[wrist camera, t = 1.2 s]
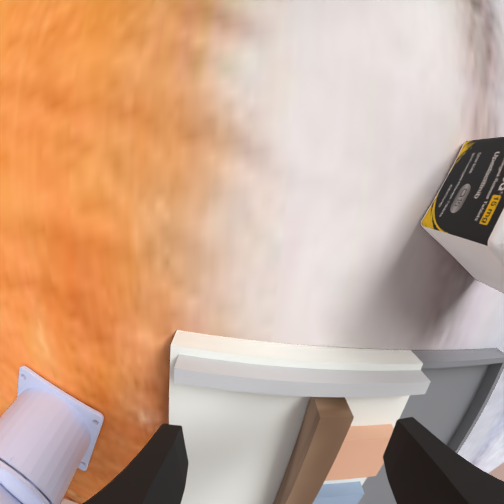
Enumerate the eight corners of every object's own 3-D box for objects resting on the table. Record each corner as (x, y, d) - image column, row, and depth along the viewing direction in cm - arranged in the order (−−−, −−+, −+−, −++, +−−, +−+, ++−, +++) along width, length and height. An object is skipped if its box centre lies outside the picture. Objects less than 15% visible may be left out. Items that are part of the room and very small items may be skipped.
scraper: (262, 528, 21) (263, 548, 19) (311, 391, 18) (320, 417, 15) (283, 528, 22) (285, 547, 19) (342, 392, 18) (353, 417, 15)
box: (327, 517, 25) (330, 529, 23) (410, 350, 20) (421, 362, 18) (405, 504, 25) (409, 514, 23) (496, 348, 21) (508, 356, 19)
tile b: (296, 510, 21) (298, 523, 20) (309, 484, 20) (312, 498, 19) (343, 507, 22) (346, 519, 20) (360, 481, 21) (364, 493, 19)
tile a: (317, 466, 20) (321, 480, 18) (334, 426, 19) (339, 441, 17) (370, 463, 20) (375, 475, 19) (391, 423, 19) (398, 436, 18)
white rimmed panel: (174, 511, 24) (170, 536, 20) (176, 329, 19) (165, 358, 16) (327, 517, 25) (333, 540, 21) (410, 349, 20) (433, 374, 17)
